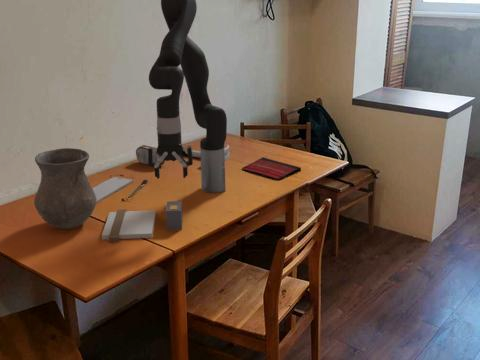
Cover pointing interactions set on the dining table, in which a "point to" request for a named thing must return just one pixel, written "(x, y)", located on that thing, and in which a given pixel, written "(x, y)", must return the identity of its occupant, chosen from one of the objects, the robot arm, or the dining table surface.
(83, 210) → the vase
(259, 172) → the binder
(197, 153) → the claw hammer
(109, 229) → the board
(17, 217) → the dining table surface
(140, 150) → the tin
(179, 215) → the block
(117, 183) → the baseboard molding
